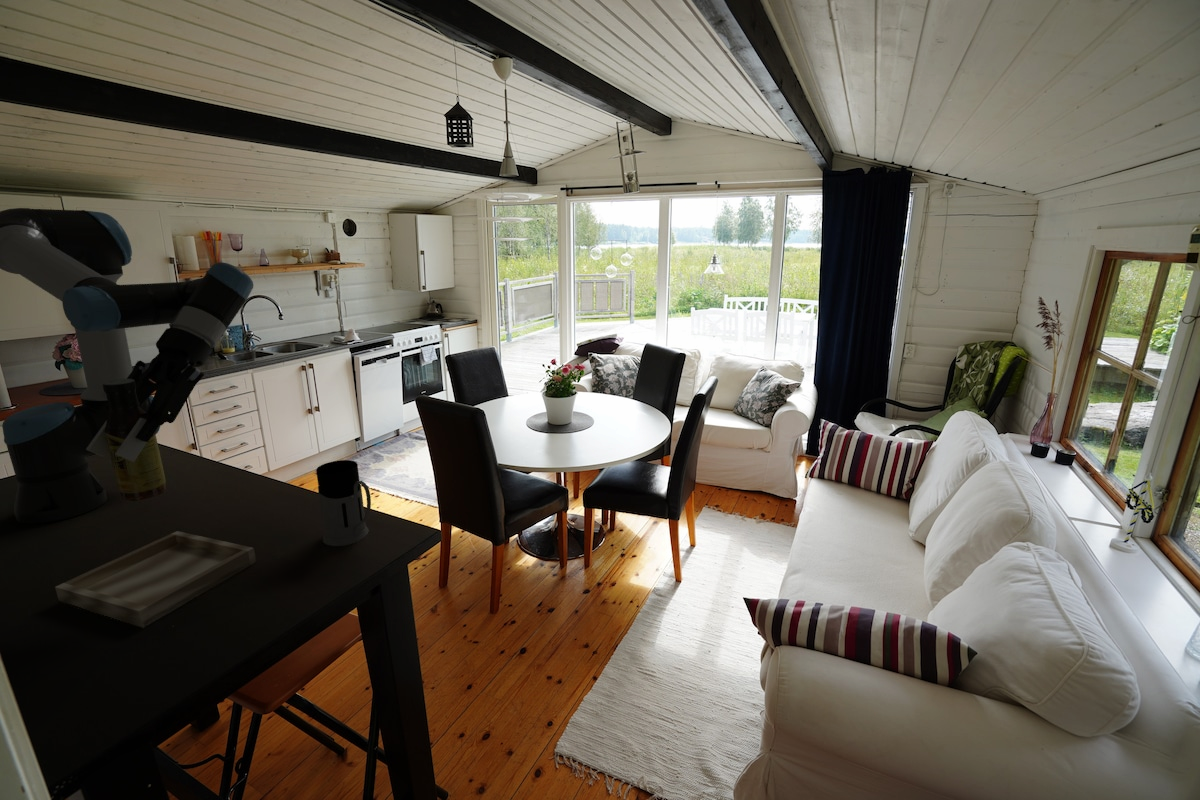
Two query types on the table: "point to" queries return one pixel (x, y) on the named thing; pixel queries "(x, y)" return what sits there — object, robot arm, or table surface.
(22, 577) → the table surface
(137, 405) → the sauce bottle
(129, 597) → the birch tray
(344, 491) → the glass holder
